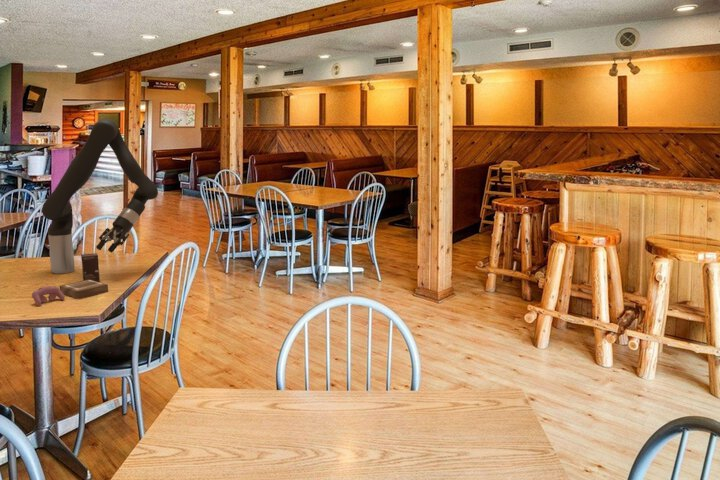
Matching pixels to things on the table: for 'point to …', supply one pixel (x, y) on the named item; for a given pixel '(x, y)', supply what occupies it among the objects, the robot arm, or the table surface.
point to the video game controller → (50, 290)
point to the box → (90, 267)
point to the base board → (84, 288)
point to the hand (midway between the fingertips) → (103, 250)
